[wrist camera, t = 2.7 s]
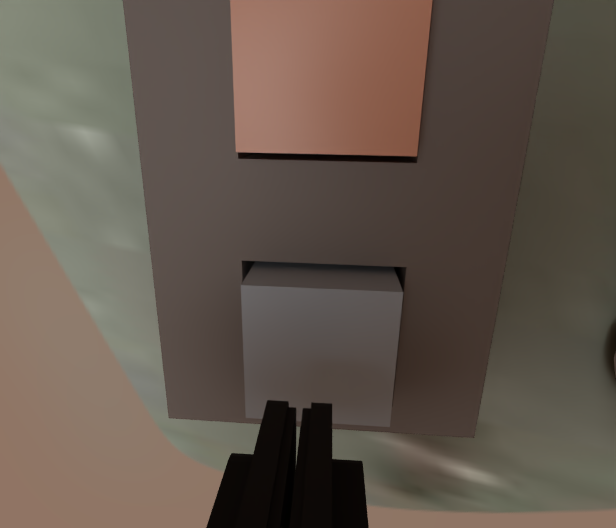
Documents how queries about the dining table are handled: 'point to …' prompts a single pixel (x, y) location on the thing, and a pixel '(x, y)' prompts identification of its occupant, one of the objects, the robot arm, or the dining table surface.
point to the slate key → (321, 338)
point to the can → (615, 363)
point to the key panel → (335, 204)
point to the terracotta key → (329, 75)
